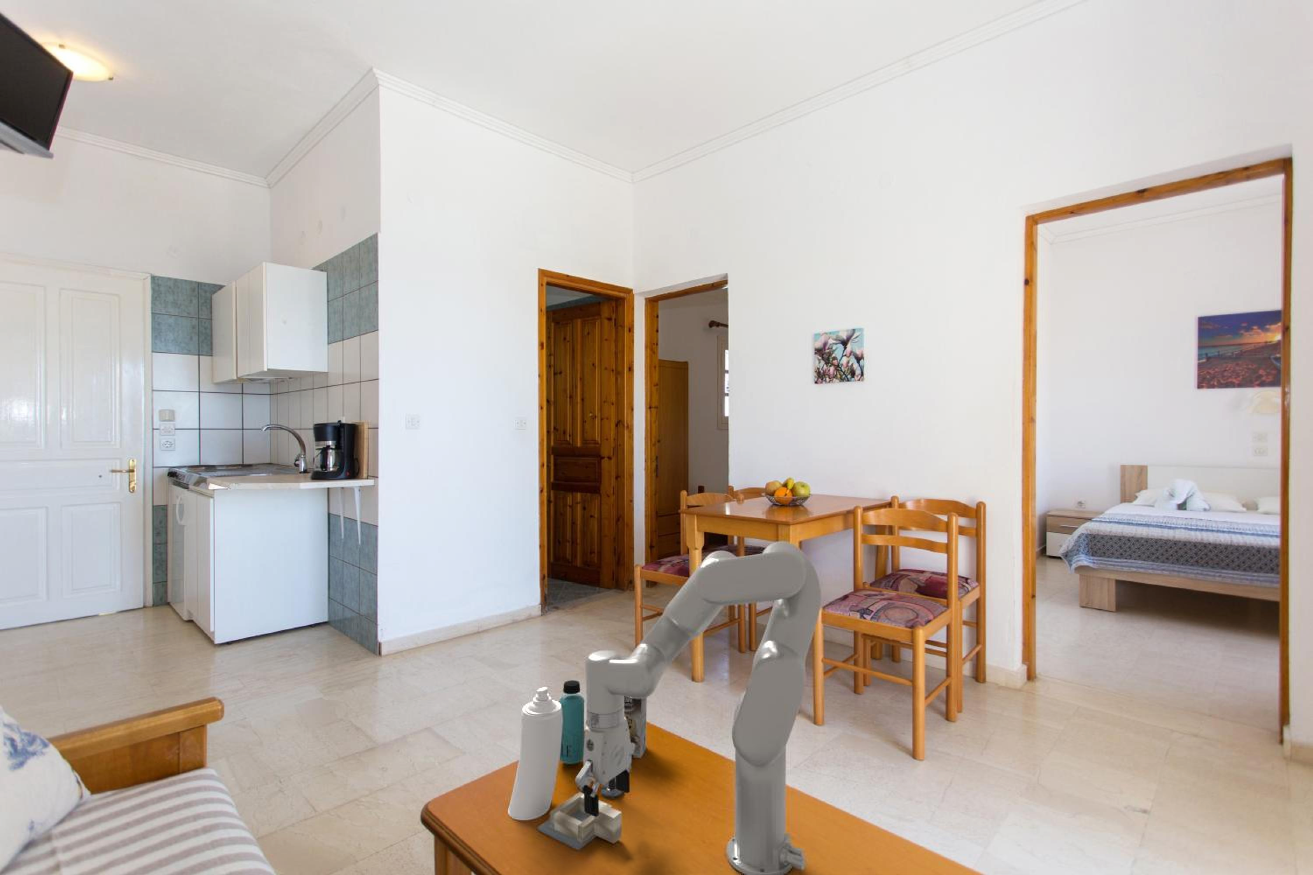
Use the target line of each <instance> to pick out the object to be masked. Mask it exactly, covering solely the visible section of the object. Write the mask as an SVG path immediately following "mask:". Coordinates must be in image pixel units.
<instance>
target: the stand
mask: <svg viewBox="0 0 1313 875" xmlns="http://www.w3.org/2000/svg"><path fill="white" fill-rule="evenodd" d="M623 794H624V792H622V791H620V790H617V789H616V777H614V778H613V779H611V780H610V781H608V782H607V783H605V784H601V787H600V795H601V796H602V797H603V798H605V799H618V798H619V797H622V796H623Z"/></svg>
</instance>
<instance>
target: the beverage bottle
mask: <svg viewBox="0 0 1313 875" xmlns="http://www.w3.org/2000/svg"><path fill="white" fill-rule="evenodd" d="M562 692H563V695H562V696H561V697H560V699H559V700H558V702H559V703H560V704H561V708H562V716H563V725H562V737H561V750H560V759H559V762H561V763H564V764H566V765H575V764H578V763H580V762H582V761H583V756H584V740H585V729H586V726H585V698H584V696H582V695H581V694H579V693H580V692H581V685H580V681H578V680H566V681H565V682H564V683H563V689H562Z"/></svg>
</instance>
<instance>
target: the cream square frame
mask: <svg viewBox="0 0 1313 875" xmlns="http://www.w3.org/2000/svg"><path fill="white" fill-rule="evenodd" d="M579 811H581V812H584V813H585V811H584V794H583V793H582V792H581V791H578V793H576V794H574V795H572V797H570V798H568V799H567V800H565V801H564V802H563V803H561V804H559V805H558V806H557V807H555V808H554V809H552V810H550V811H549V819H550V827H551V828H553V829H555V830H557V831H559V832H561V833H563V834H566V835H568V836H570V837H572V838H574V839H576V840H578V841H580V842H582V843H584V842H585V841H586V840H588V839H589V838H590V837H591V836H593V835H596V837H598V838H601V839H603V840H605V841H607V842H609V843H612V844H615V843H617V842H618V841H619V840H620V839H622V811H620V810H618V809H615V808H613V805H611V804H609V803H606V802H604V801H601V800H599V815H598V816H597V817H595V816H592V815H590V814H588V815H590V817H589V818H587V819H586V820H585V821H583V822H581V821H579V820H577V819H575V818H573V817H572V816H574V815H575V814H576V813H578V812H579ZM586 814H587V813H586Z"/></svg>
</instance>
